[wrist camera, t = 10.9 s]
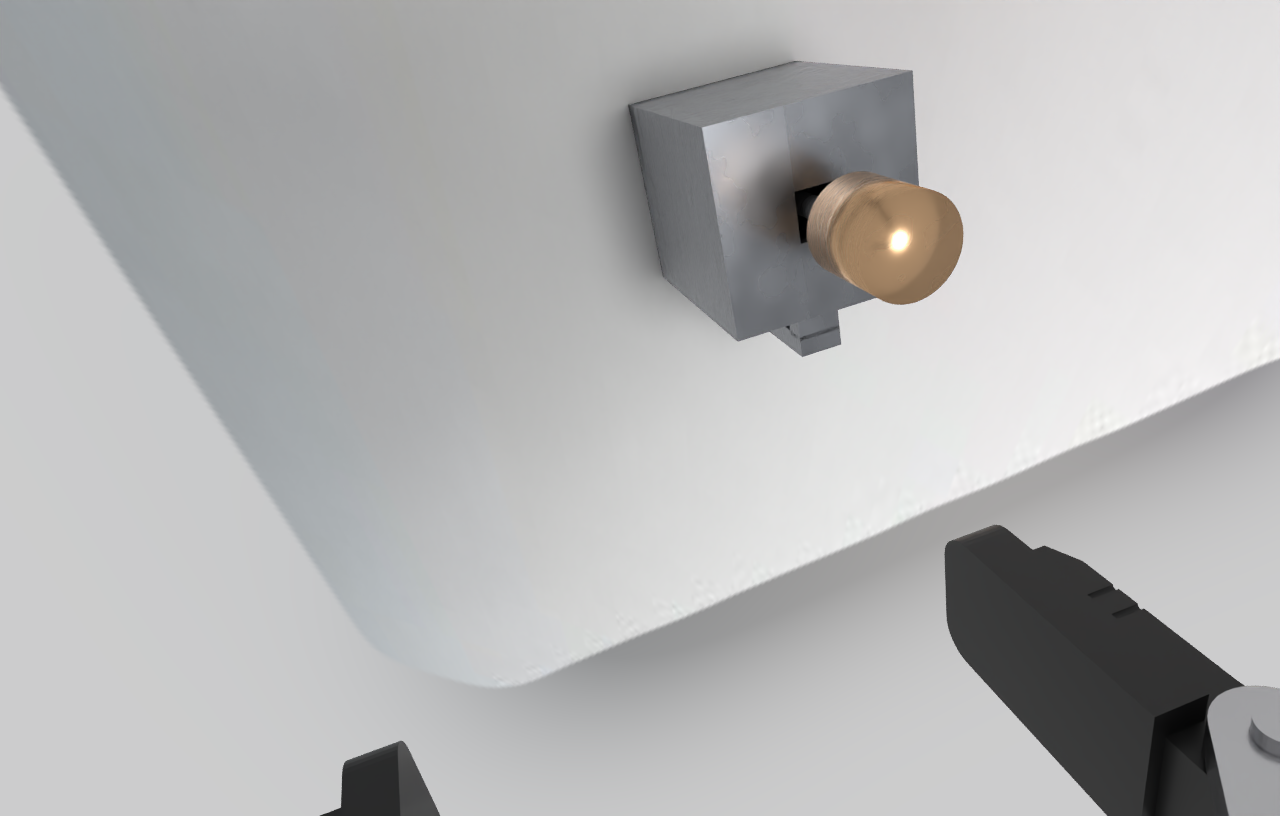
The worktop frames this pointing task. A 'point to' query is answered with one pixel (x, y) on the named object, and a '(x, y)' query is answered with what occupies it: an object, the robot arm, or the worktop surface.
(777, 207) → the frame
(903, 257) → the plunger
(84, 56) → the worktop surface
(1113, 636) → the robot arm
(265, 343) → the worktop surface
